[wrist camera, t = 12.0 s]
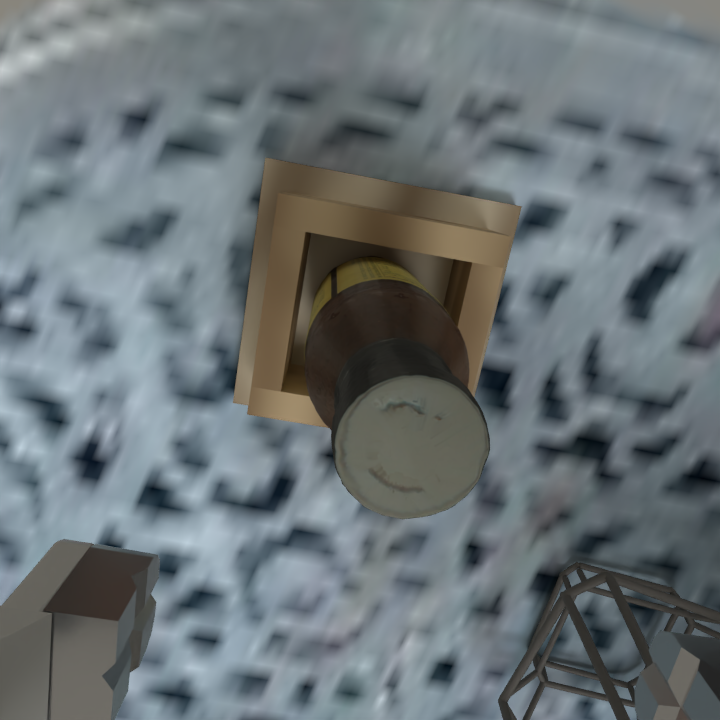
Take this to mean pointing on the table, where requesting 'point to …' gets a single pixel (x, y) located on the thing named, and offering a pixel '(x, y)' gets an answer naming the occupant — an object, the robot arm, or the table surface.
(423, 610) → the table surface
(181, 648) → the table surface
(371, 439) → the sauce bottle
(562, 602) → the geometric lantern
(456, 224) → the square wooden tray
